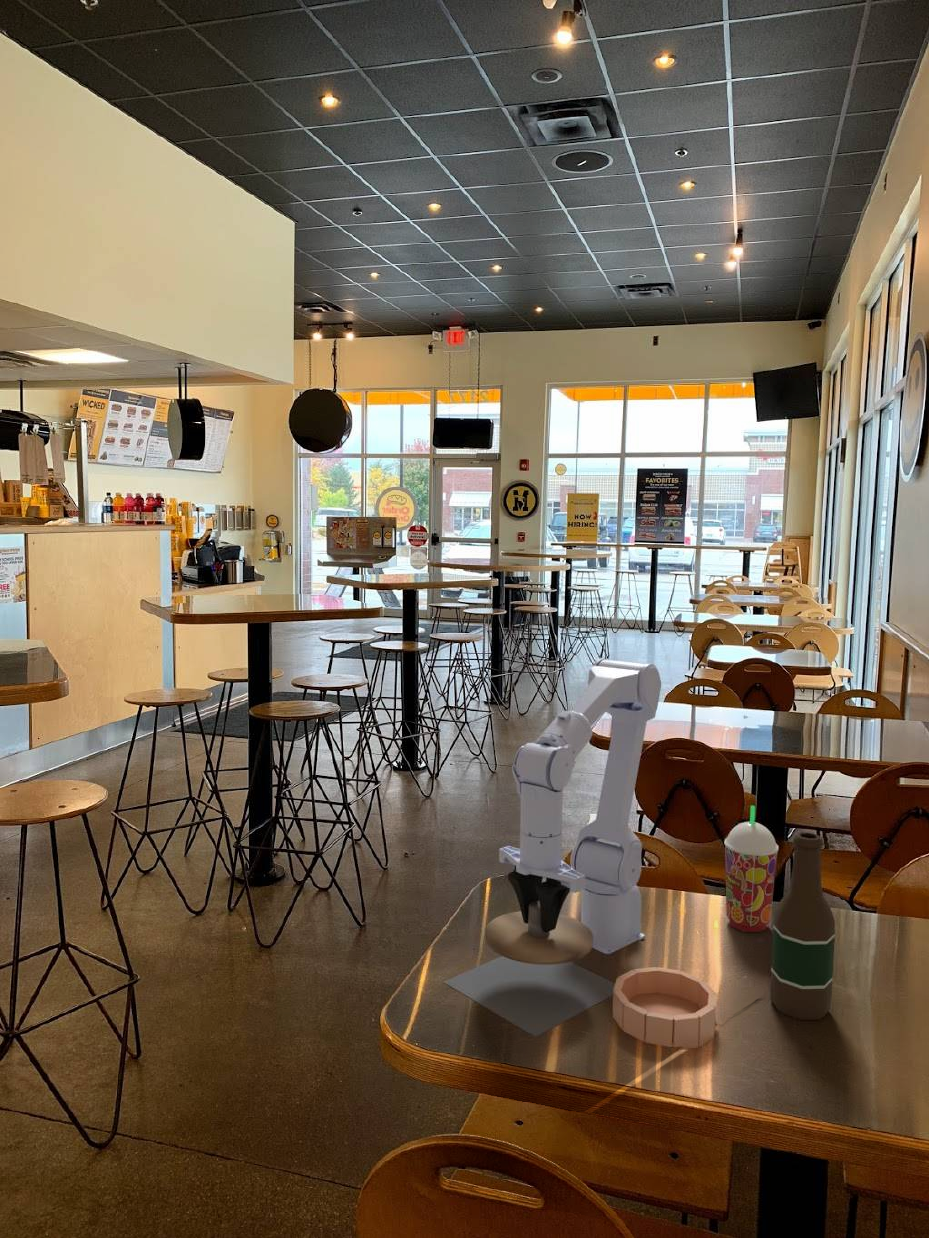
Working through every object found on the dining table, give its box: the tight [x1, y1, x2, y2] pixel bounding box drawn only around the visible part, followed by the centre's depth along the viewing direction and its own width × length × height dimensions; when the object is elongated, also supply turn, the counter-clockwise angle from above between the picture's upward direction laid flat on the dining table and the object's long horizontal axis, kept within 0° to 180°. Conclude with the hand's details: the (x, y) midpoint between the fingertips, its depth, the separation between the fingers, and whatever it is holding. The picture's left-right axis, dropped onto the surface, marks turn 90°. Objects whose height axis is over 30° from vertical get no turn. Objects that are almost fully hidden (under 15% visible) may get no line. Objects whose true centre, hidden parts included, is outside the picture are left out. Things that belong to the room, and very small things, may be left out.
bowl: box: [612, 966, 718, 1051], centre depth 118 cm, size 13×13×4 cm
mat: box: [443, 955, 616, 1038], centre depth 126 cm, size 18×18×1 cm
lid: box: [484, 901, 593, 965], centre depth 124 cm, size 15×15×5 cm
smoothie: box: [723, 805, 779, 933], centre depth 145 cm, size 8×8×20 cm
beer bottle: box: [769, 831, 836, 1021], centre depth 120 cm, size 8×8×24 cm
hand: (539, 925), depth 124 cm, fingers closed on lid, 3 cm apart
